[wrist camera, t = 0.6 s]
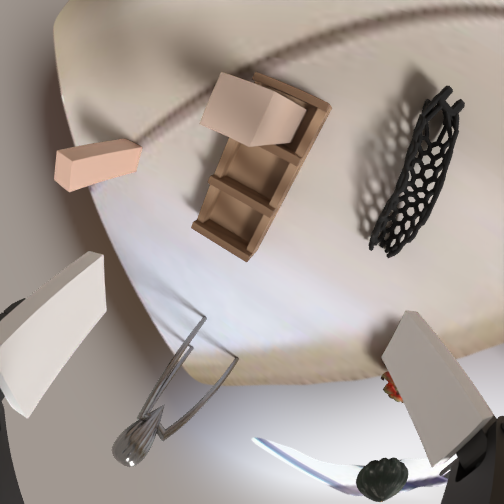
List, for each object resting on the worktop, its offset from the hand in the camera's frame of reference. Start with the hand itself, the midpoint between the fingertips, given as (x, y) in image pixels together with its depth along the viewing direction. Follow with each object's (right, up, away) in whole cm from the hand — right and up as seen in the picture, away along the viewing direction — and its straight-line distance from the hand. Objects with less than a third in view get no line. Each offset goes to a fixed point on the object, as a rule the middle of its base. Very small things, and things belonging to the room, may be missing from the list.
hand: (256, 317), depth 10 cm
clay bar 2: (+4, +18, +19) cm, 27 cm away
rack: (+1, +13, +23) cm, 27 cm away
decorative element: (+20, +12, +17) cm, 29 cm away
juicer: (-9, -16, +41) cm, 45 cm away
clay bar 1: (-21, +19, +30) cm, 41 cm away
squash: (+38, -57, +41) cm, 80 cm away
